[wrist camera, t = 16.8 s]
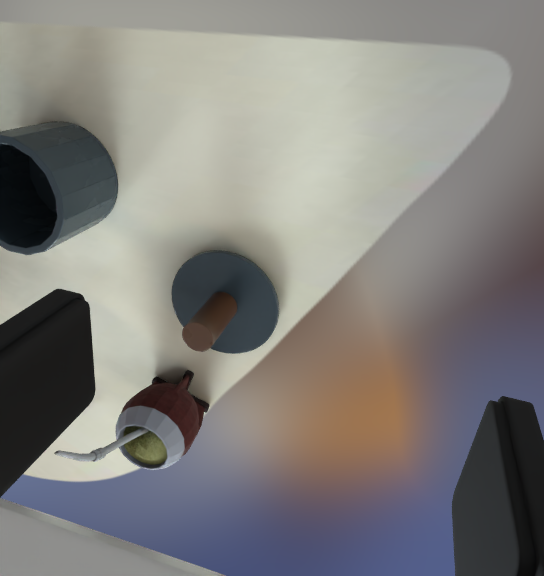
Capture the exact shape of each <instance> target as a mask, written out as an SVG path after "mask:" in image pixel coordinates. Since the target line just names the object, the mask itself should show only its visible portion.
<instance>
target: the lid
mask: <svg viewBox="0 0 544 576" xmlns="http://www.w3.org/2000/svg"><path fill="white" fill-rule="evenodd" d="M172 302H173V307H174V310H175V313H176V315H177V317H178V319H179V321H180V323H181V324H182V326H183V327H184V328H183V331H182V336H183V340H184V342H185V343H186V344H187V346H188V347H190V348H191V349H193V350H195V351H199V352H203V351H207V350H209V349H210V348H211V349H213V350H216V351H219V352H224V353H232V354H236V353H245V352H248V351H252V350H254V349H256V348H258V347H259V346H261V345H262V344H264V343H265V342H266V341H267V340H268V339H269V337H270V336H271V335H272V333H273V331H274V329H275V327H276V325H277V322H278V317H279V302H278V298H277V294H276V291H275V289H274V287H273V285H272V283H271V281H270V280H269V278H268V277H267V275H266V274H265V273H264V272H263V271H262V270H261V269H260V268H259V267H258V266H257V265H256V264H254V263H253V262H251V261H250V260H248V259H247V258H245V257H243V256H241V255H238V254H236V253H232V252H228V251H215V250H214V251H207V252H203V253H200V254H198V255H195V256H194V257H192V258H190V259H189V260H188V261H187V262H186V263H184V264H183V265H182V267H181V268H180V269H179V271H178V272H177V274H176V276H175V279H174V281H173V286H172Z"/></svg>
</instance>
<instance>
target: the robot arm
mask: <svg viewBox="0 0 544 576" xmlns="http://www.w3.org/2000/svg"><path fill="white" fill-rule="evenodd" d="M94 395H95V377H94V362H93V348H92V334H91V320H90V307H89V304H88V302H86V301H85V299H84V297H83V295H81V294H79V293H75V292H71V291H67V290H63V289H56V290H54V291H53V292H51V293H49V294H48V295H46V296H45V297H43V298H42V299H40V300H38V301H37V302H35V303H34V304H32V305H31V306H29V307H28V308H26V309H24V310H23V311H21V312H20V313H18V314H17V315H15V316H14V317H12V318H10V319H9V320H7V321H6V322H4V323H3V324H1V325H0V497H1V496H2V495H3V494H4V493H5V492H6V491H7V490H8V489H9V488H10V487H11V486H12V484H14V483H15V481H16V480H17V479H18V478H19V477H20V476H21V475H22V474H23V473H24V472H25V471H26V470H27V469H28V468H29V467H30V466H31V465H32V464H33V463H34V462H35V461H36V460H37V459H38V458H39V456H40V455H41V454H42V453H43V452H44V451H45V450H46V449H47V448H48V447H49V446H50V445H51V444H52V443H53V442H54V441H55V440H56V439H57V438H58V437H59V436H60V435H61V434H62V432H63V431H64V430H65V429H66V428H67V427H68V426H69V425H70V424H71V423H72V422H73V421H74V420H75V419H76V418H77V417H78V416H79V415H80V414H81V413H82V412H83V411H84V410H85V408H86V407H87V406H88V405H89V404H90V403H91V401H92V400H93V397H94ZM452 519H453V537H454V538H453V540H454V556H455V557H454V559H455V576H544V440H543V437H542V433H541V430H540V427H539V423H538V420H537V416H536V413H535V410H534V407H533V405H532V404H531V403H529V402H525V401H521V400H517V399H513V398H508V397H505V396H502V397H501V398H500V399H499V400H498V402H496V401H489V402H488V404H487V406H486V409H485V412H484V415H483V417H482V420H481V422H480V425H479V428H478V430H477V433H476V436H475V438H474V441H473V443H472V446H471V449H470V452H469V454H468V457H467V459H466V462H465V465H464V467H463V470H462V473H461V476H460V478H459V481H458V483H457V486H456V488H455V491H454V495H453V501H452ZM0 576H225V575H222V574H220V573H216V572H214V571H211V570H208V569H205V568H202V567H199V566H196V565H194V564H191V563H188V562H185V561H182V560H179V559H176V558H174V557H171V556H168V555H165V554H162V553H159V552H156V551H153V550H151V549H147V548H145V547H142V546H139V545H136V544H133V543H130V542H127V541H124V540H121V539H119V538H116V537H113V536H110V535H107V534H104V533H101V532H98V531H95V530H93V529H90V528H87V527H84V526H81V525H78V524H75V523H72V522H69V521H66V520H63V519H60V518H58V517H55V516H52V515H49V514H46V513H42V512H40V511H37V510H34V509H31V508H28V507H25V506H22V505H19V504H16V503H13V502H10V501H7V500H4V499H1V498H0Z"/></svg>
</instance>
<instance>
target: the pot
mask: <svg viewBox="0 0 544 576" xmlns="http://www.w3.org/2000/svg"><path fill="white" fill-rule="evenodd" d="M117 193H118V181H117V174H116V170H115V167H114V164H113V162H112V159H111V157H110V155H109V154H108V152H107V150H106V149H105V147H104V146H103V145H102V144H101V142H100V141H99V140H98V139H97V138H96V137H95V136H94V135H93V134H91V133H90V132H89V131H87V130H86V129H84V128H82V127H80V126H78V125H75V124H72V123H68V122H56V121H54V122H48V123H43V124H38V125H33V126H27V127H22V128H17V129H11V130H6V131H1V132H0V246H1V247H3V248H5V249H6V250H8V251H11V252H16V253H20V254H24V255H31V254H36V253H40V252H45V251H47V250H49V249H51V248H53V247H54V246H56V245H58V244H60V243H62V242H64V241H66V240H68V239H70V238H72V237H73V236H75V235H77V234H79V233H81V232H83V231H85V230H87V229H89V228H91V227H93V226H94V225H96V224H98V223H99V222H100V221H102V220H103V219H104V218H106V217H107V216H108V215H109V213H110V212H111V210H112V209H113V207H114V205H115V202H116V198H117Z"/></svg>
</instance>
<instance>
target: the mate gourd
mask: <svg viewBox="0 0 544 576" xmlns="http://www.w3.org/2000/svg"><path fill="white" fill-rule="evenodd" d="M193 375H194V373H193V372H191V371H189V370H187V371H186V373H185V374H184V376H183V379H182V381H181V382H180V383H179V384H172V383H169V382H167V381H165V380H163V379H161V378H159V377H155V378H154V379H153V380H152V385H150V386H149V387H147V388H145V389H143V390H141V391H140V392H139V393H137V394H136V395H135V396H134V397H132V398H131V399H130V400H129V401H128V402H127V403H126V405H125V406H124V408H123V410H122V412H121V414H120V415H119V418H118V421H117V424H116V439H117V441H115V442H113V443H111V444H109V445H108V446H106V447H104V448H99V449H96V450H94V451H92V452H91V453H89V454H78V453H72V452H65V451H56V452H55V455H59V456H62V457H66V458H70V459H74V460H77V461H94V462H95V461H97V460H100V459H102V458H104V457H105V456H106V454H108V453H109V452H111V451H113V450H115V449H116V448H118V447H119V449H120V450H121V452H122V454H123V455H124V456H125V457H126V458H127V459H128V460H129V461H130V462H131V463H133V464H135V465H137V466H139V467H140V468H144V469H149V470H157V469H163V468H166V467H169V466H171V465H172V464H174V463H175V462H177V461H178V460H180V458H181V457H182V456H183V455H185V454H186V452H187V451H188V450H189V448H190V447H191V444H192V443H193V441H194V439H195V437H196V435H197V434H198V431H199V429H200V427H201V424H202V420H203V414H204V412H207V411H208V408H209V404H207V403H206V402H204V401H202V400H200V399H198V398H197V397H195V396H193V395H191V394H190V393H189V392H188V391H187V390H188V388H189V385H190V383H191V380H192V378H193Z"/></svg>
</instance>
